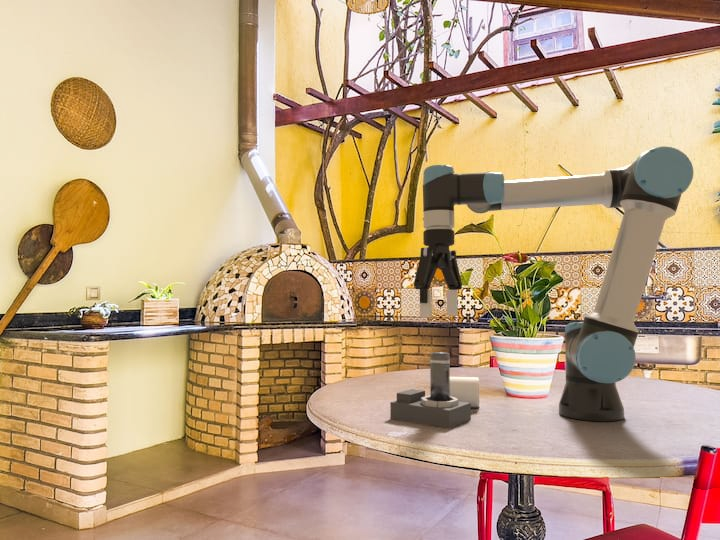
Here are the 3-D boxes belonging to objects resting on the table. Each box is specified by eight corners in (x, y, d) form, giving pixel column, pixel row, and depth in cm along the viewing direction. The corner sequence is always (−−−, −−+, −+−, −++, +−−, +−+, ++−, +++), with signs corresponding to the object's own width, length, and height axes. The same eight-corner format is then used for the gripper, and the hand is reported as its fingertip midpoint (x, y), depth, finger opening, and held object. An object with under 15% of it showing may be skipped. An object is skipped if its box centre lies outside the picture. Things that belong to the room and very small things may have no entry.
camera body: (470, 419, 135) (470, 394, 136) (449, 428, 127) (449, 401, 127) (414, 411, 145) (413, 387, 145) (390, 418, 136) (390, 393, 136)
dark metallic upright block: (445, 401, 137) (445, 351, 138) (453, 405, 133) (452, 353, 133) (427, 402, 136) (427, 352, 137) (434, 406, 132) (433, 354, 132)
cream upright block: (479, 410, 146) (479, 379, 146) (440, 409, 148) (440, 378, 148) (479, 401, 158) (478, 373, 158) (443, 400, 160) (443, 372, 160)
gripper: (448, 234, 149) (449, 314, 148) (398, 225, 129) (399, 318, 128) (474, 232, 145) (475, 315, 144) (427, 223, 124) (427, 318, 124)
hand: (439, 316), depth 136 cm, fingers open, 13 cm apart
